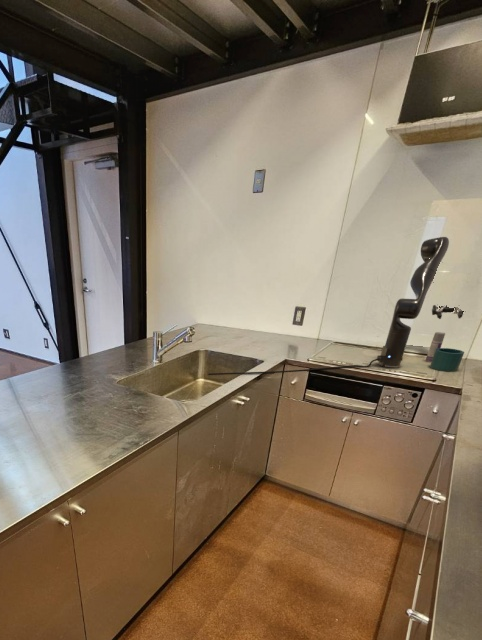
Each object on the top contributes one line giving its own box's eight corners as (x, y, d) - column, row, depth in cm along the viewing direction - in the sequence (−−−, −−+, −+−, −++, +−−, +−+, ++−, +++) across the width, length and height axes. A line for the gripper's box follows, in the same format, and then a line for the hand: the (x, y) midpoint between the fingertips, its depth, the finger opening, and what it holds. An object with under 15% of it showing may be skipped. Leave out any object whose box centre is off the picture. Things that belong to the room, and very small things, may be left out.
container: (432, 360, 209) (442, 332, 201) (437, 362, 204) (447, 333, 197) (423, 359, 209) (432, 332, 202) (428, 362, 205) (438, 333, 198)
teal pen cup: (436, 371, 191) (442, 353, 186) (425, 364, 201) (431, 347, 196) (462, 371, 189) (469, 353, 184) (450, 365, 199) (456, 348, 194)
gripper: (432, 295, 208) (436, 311, 199) (464, 293, 203) (469, 310, 193) (428, 307, 213) (431, 323, 204) (459, 306, 208) (464, 323, 199)
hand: (450, 317), depth 199 cm, fingers open, 8 cm apart
